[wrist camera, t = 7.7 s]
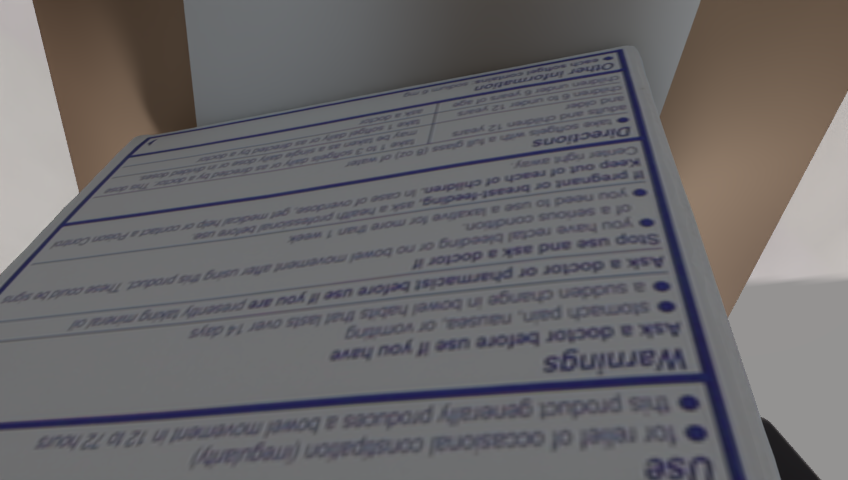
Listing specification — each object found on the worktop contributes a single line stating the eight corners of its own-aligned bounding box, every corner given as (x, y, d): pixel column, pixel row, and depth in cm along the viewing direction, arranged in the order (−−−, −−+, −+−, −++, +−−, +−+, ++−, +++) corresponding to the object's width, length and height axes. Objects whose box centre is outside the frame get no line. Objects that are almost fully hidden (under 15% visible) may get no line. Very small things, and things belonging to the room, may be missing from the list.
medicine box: (239, 320, 14) (-50, 929, 7) (131, 121, 11) (-498, 770, 4) (655, 278, 12) (830, 1057, 5) (639, 26, 9) (953, 912, 2)
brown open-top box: (168, 299, 18) (117, 383, 15) (70, -291, 10) (-56, -293, 8) (637, 376, 17) (653, 473, 15) (886, -179, 10) (989, -147, 8)
